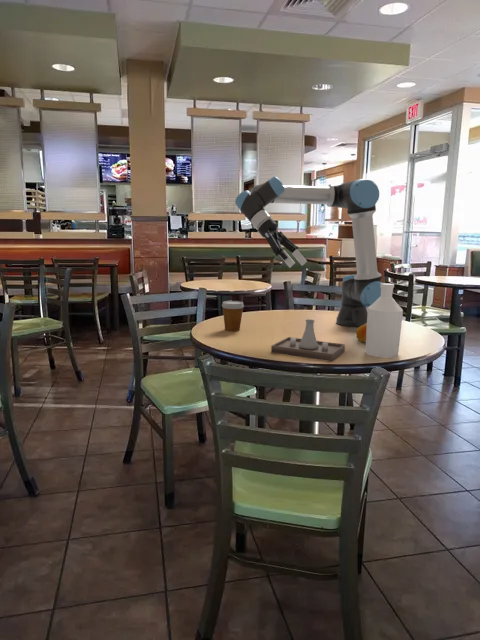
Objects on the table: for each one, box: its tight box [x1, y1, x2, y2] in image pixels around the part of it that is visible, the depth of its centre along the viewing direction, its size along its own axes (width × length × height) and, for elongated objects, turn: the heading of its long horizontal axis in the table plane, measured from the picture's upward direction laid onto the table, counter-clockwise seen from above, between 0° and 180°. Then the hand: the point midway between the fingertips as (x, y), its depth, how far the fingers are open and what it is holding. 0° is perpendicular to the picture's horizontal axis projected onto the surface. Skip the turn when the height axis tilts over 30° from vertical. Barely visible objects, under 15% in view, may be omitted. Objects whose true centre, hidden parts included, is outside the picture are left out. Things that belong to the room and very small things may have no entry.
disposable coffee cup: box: [221, 300, 245, 332], centre depth 200 cm, size 10×10×12 cm
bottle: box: [364, 282, 404, 359], centre depth 165 cm, size 12×12×25 cm
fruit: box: [355, 323, 367, 344], centre depth 183 cm, size 8×8×8 cm
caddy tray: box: [270, 336, 346, 362], centre depth 167 cm, size 16×22×4 cm
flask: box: [299, 319, 319, 349], centre depth 166 cm, size 7×7×10 cm
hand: (298, 264), depth 181 cm, fingers open, 13 cm apart
